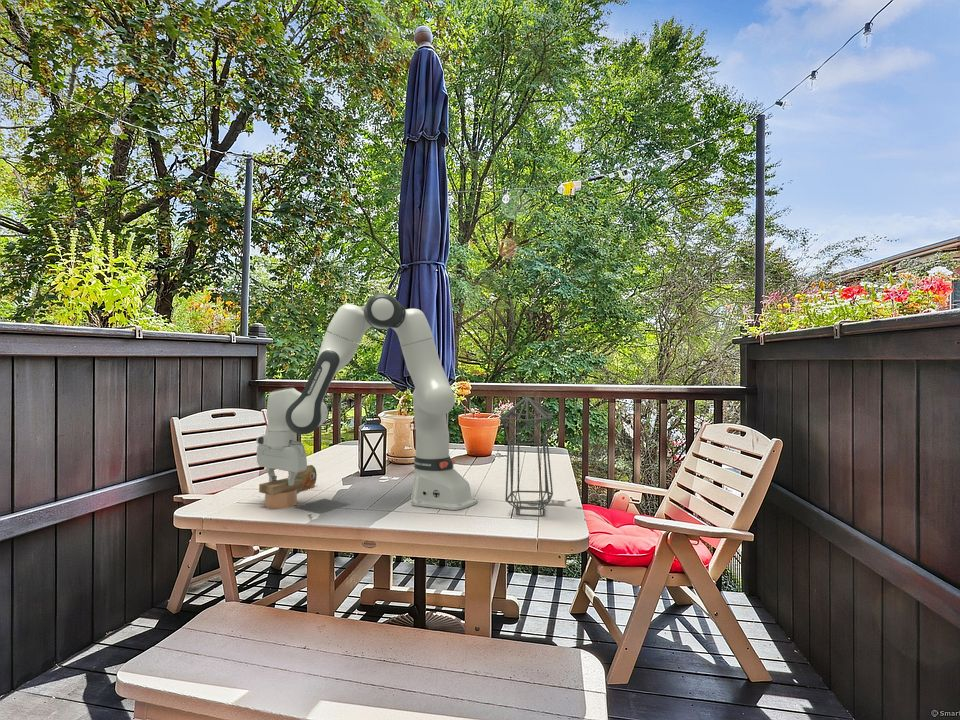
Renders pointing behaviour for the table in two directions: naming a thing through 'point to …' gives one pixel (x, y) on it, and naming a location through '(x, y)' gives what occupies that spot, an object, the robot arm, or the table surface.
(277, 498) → the bowl
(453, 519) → the table surface
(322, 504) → the mat
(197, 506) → the table surface
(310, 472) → the brown mottled rounded slab
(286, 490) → the cover board
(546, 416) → the geometric lantern
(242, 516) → the table surface
